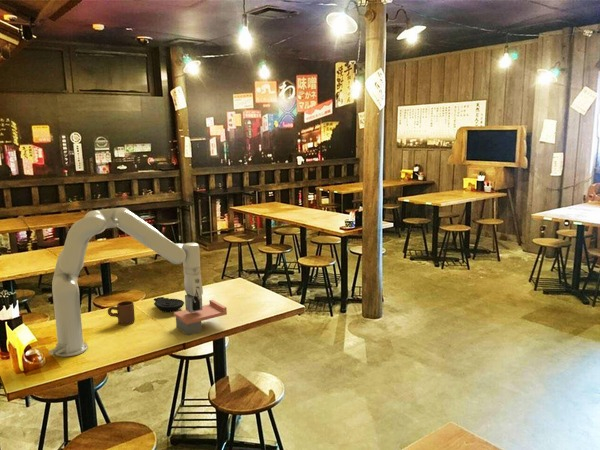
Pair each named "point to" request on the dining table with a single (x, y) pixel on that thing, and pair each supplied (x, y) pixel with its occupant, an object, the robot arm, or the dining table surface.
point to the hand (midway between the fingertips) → (193, 307)
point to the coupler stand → (198, 317)
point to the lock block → (191, 303)
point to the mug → (123, 312)
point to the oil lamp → (168, 304)
